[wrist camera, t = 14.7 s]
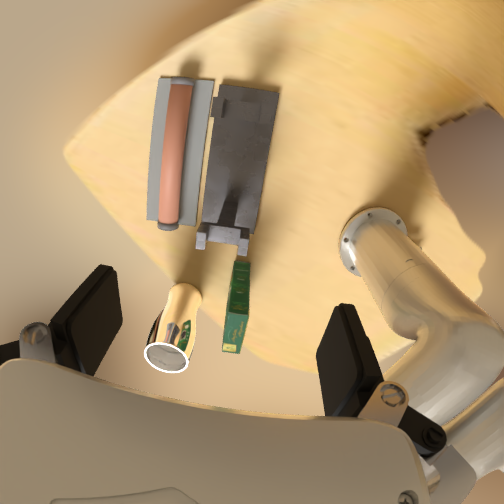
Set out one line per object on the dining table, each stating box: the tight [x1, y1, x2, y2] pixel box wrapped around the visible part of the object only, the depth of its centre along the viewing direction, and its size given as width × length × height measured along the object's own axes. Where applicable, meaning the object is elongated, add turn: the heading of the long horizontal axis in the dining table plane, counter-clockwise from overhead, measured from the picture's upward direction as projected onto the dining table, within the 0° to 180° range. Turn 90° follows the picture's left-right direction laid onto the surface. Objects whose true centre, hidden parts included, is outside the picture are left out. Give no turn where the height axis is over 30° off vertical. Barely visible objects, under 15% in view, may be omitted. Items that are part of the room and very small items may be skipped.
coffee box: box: [222, 261, 250, 354], centre depth 42 cm, size 8×3×13 cm, turn 169°
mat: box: [147, 78, 214, 226], centre depth 38 cm, size 8×22×1 cm, turn 171°
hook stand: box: [195, 85, 279, 256], centre depth 33 cm, size 8×21×13 cm, turn 171°
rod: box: [158, 77, 195, 231], centre depth 37 cm, size 22×3×3 cm, turn 171°
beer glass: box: [144, 283, 202, 373], centre depth 43 cm, size 7×7×15 cm
